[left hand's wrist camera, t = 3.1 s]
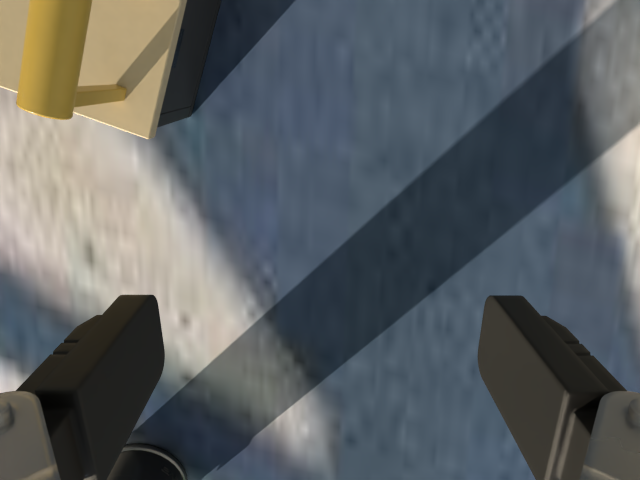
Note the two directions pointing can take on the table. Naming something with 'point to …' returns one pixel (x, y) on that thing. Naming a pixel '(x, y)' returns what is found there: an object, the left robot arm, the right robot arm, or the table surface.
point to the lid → (90, 58)
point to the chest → (189, 60)
